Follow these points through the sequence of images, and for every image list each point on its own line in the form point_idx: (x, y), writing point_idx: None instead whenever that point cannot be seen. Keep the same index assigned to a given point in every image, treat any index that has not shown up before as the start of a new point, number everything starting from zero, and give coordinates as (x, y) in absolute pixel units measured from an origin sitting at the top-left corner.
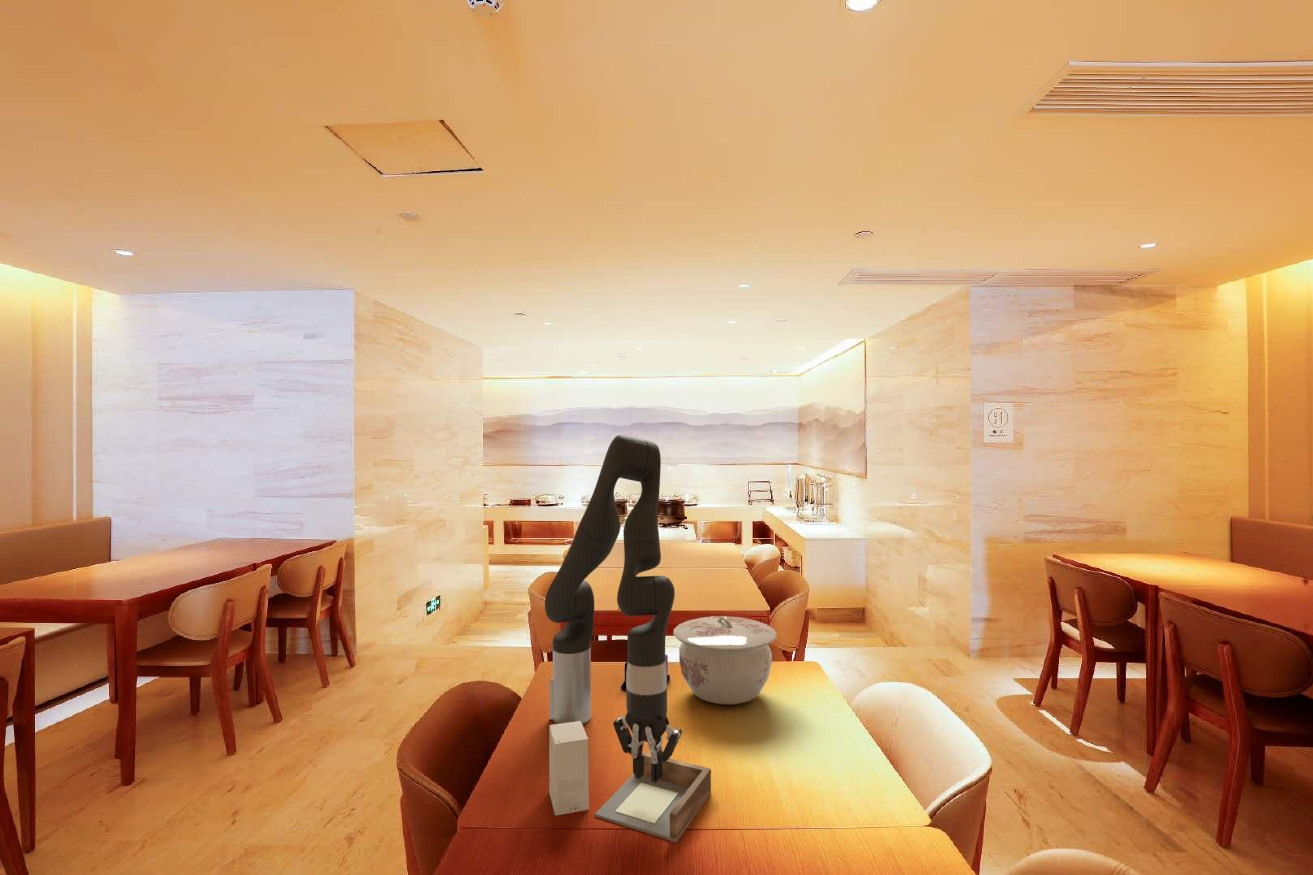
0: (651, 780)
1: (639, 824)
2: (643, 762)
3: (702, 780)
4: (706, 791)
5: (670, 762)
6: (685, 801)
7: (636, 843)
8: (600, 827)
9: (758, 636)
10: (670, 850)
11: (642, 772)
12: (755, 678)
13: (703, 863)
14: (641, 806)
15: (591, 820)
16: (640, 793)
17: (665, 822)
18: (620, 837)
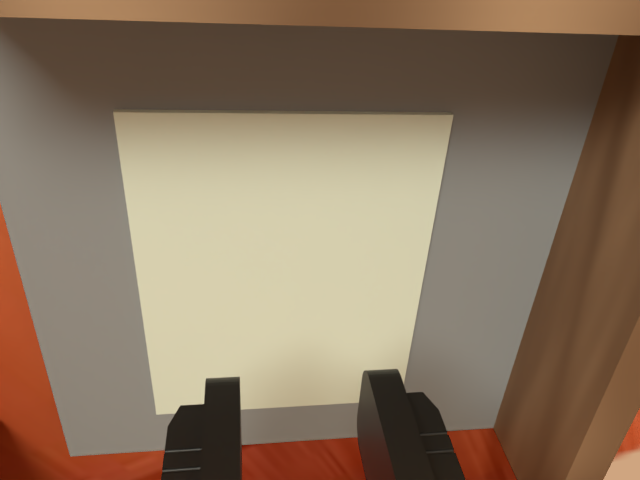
0: (361, 448)
1: (326, 422)
2: (240, 465)
3: None
4: None
5: (380, 26)
6: (618, 441)
7: (355, 473)
8: (152, 472)
9: None
10: (502, 449)
11: (240, 408)
12: None
13: (636, 447)
14: (272, 332)
15: (77, 460)
16: (194, 232)
17: (447, 368)
18: (274, 477)
